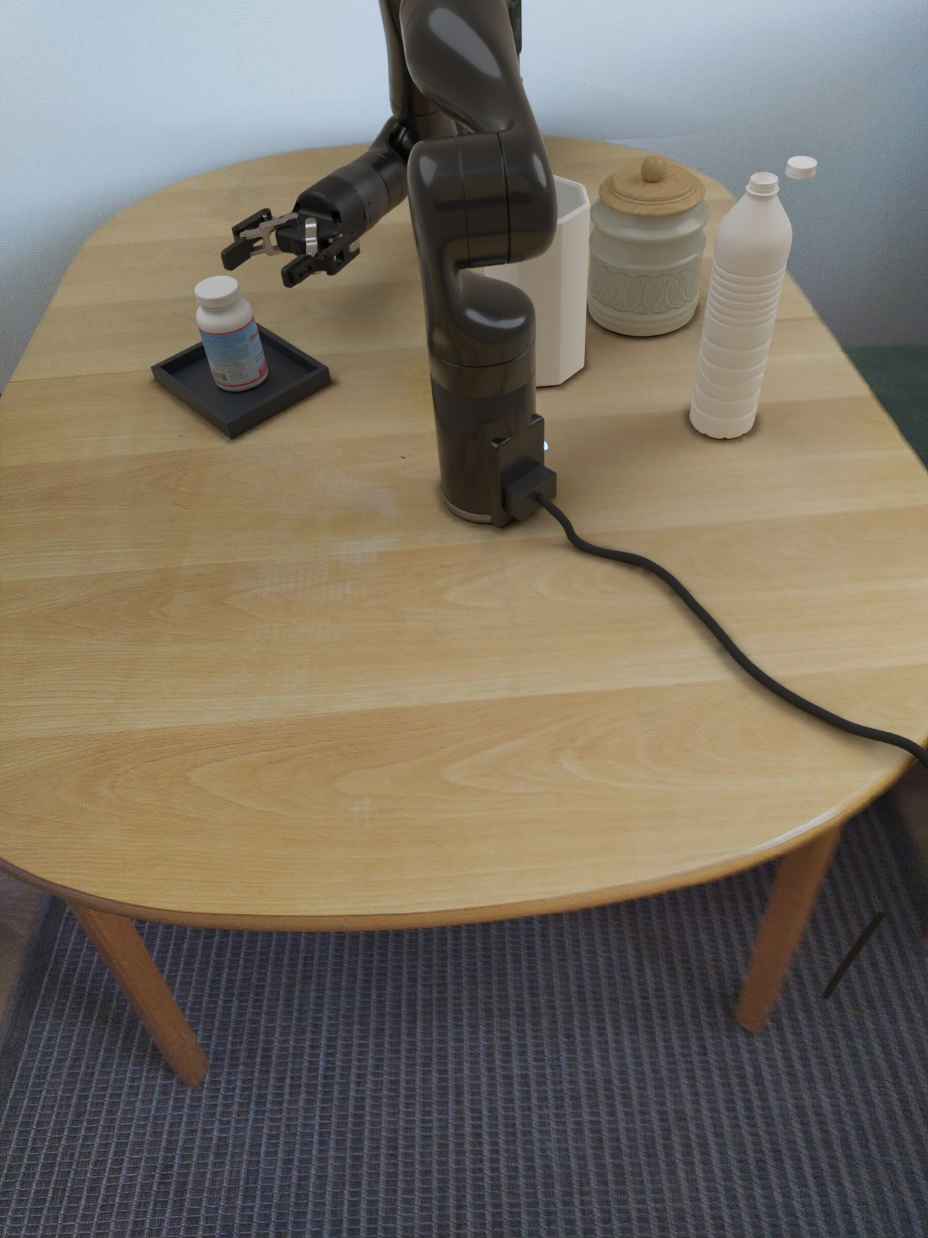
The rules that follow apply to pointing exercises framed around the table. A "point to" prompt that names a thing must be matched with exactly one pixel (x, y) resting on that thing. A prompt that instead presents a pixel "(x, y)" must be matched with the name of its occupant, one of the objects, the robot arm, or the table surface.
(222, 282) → the pill bottle
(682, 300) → the jar
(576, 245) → the cup
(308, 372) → the tray
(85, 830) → the table surface
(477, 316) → the robot arm
